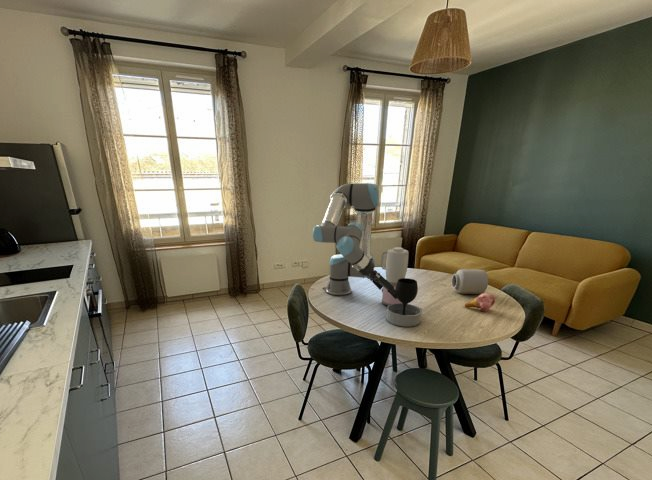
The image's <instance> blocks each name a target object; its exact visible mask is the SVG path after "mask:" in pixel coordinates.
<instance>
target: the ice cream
mask: <svg viewBox="0 0 652 480" xmlns="http://www.w3.org/2000/svg"><path fill="white" fill-rule="evenodd" d="M495 302H496V297H495V296H494V295H493V294H491V293H488V292H487V293H485V292H484V293H482V294H479V295H478V296H477V297H474V298H473V299H472V300H471V301H468V302H466V303H465V304H464V307H465V308H466V309H469V308H475V309H479V310H480V311H481V312H487V311H488V310H489V309H491V308H492V307H493V306H494V305H495Z"/></svg>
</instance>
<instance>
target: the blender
mask: <svg viewBox="0 0 652 480" xmlns="http://www.w3.org/2000/svg"><path fill="white" fill-rule="evenodd" d="M409 253H410V252H409V250H407V249H404V248H403V247H398V246H396V247H393V248H389V249H388V250H387V251H384V252H382V254H381V263H380V264H381V265H380V268H381V270H384V271H385V279H386V280H387V281H388V282H389V283H390V284H391V285H392V286H394V289H395V288H396V284H397V281H398V280H399V279H402V278H406V276H407V273H408V272H407V271H408V266H409V255H410V254H409ZM381 293H382V295H381V297H382V298H381V304H382V305H385V306H389V305H391V304H395V303H401V302H400V301H399V300H398V299H395V298H394V297H393V296H392V295H391V294H390V293H389V292H387V289H386V288H385V287H382V289H381Z"/></svg>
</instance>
